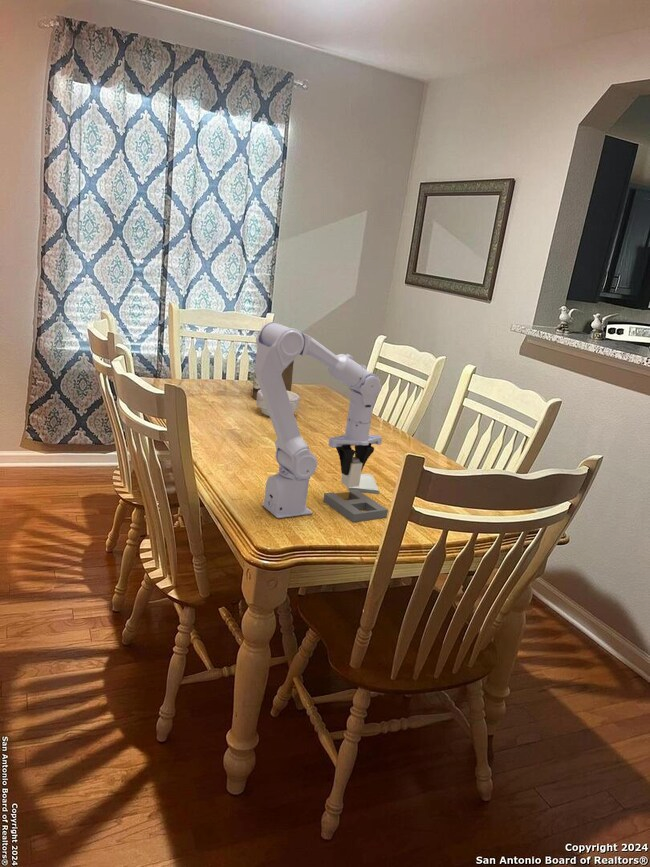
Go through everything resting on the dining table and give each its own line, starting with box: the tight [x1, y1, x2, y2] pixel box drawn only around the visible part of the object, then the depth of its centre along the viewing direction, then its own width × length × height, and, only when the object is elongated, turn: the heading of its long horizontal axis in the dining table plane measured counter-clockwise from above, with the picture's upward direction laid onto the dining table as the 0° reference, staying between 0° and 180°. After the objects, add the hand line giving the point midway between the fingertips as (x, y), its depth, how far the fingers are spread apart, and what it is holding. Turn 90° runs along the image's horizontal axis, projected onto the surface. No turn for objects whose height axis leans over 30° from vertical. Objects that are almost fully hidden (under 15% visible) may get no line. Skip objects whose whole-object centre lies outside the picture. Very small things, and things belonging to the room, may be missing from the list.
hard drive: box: [346, 472, 380, 495], centre depth 178 cm, size 2×8×12 cm
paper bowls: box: [255, 389, 301, 418], centre depth 234 cm, size 15×15×8 cm
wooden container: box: [251, 352, 295, 401], centre depth 254 cm, size 15×15×22 cm
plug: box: [340, 456, 363, 488], centre depth 160 cm, size 3×3×7 cm
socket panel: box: [322, 490, 389, 523], centre depth 160 cm, size 10×13×2 cm
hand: (351, 473), depth 161 cm, fingers closed on plug, 3 cm apart
